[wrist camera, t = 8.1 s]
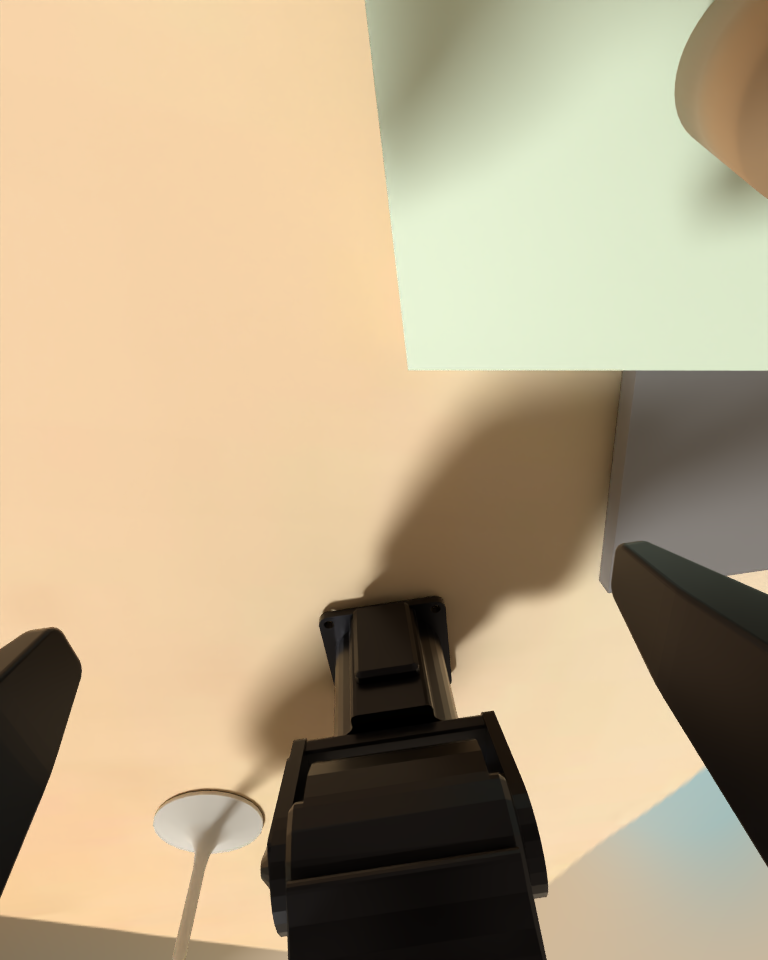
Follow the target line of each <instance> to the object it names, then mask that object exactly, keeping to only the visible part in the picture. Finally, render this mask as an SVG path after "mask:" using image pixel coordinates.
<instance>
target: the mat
mask: <svg viewBox="0 0 768 960" xmlns="http://www.w3.org/2000/svg"><path fill="white" fill-rule="evenodd" d="M635 541H647V542H650V543H652V544H654V545H656V546H659V547H661V548H663V549H666V550H668V551H670V552H672V553H675V554H677V555H679V556H681V557H684V558H686V559H688V560H691V561H693V562H695V563H697V564H700V565H702V566H704V567H706V568H709V569H711V570H713V571H716V572H718V573H720V574H722V575H725V576H728V575H735V574H742V573H749V572H755V571H762V570H768V371H730V370H623V371H622V380H621V389H620V398H619V407H618V416H617V425H616V434H615V442H614V451H613V460H612V469H611V478H610V487H609V496H608V505H607V514H606V522H605V531H604V540H603V549H602V558H601V567H600V576H599V581H600V582H601V584H602V585H603V587H604V588H605V589H606V591H607V592H608V593H612V589H611V579H612V572H613V564H614V556H615V551H616V548H617V546H618V545H620V544H622V543H628V542H635Z"/></svg>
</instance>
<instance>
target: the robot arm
mask: <svg viewBox="0 0 768 960" xmlns="http://www.w3.org/2000/svg"><path fill="white" fill-rule="evenodd" d="M611 589H612V594H613V597H614V599H615V601H616V604H617V606H618V608H619V610H620V612H621V614H622V616H623V618H624V620H625V622H626V624H627V627H628V629H629V631H630V633H631V635H632V637H633V639H634V641H635V643H636V645H637V647H638V649H639V652H640V654H641V656H642V658H643V660H644V662H645V664H646V666H647V668H648V670H649V672H650V674H651V676H652V678H653V680H654V682H655V684H656V686H657V687H658V689H659V691H660V692H661V694H662V696H663V698H664V699H665V701H666V703H667V704H668V706H669V707H670V709H671V711H672V712H673V714H674V716H675V717H676V719H677V720H678V722H679V724H680V725H681V727H682V729H683V730H684V732H685V733H686V735H687V737H688V738H689V740H690V742H691V743H692V745H693V746H694V748H695V750H696V751H697V753H698V755H699V756H700V758H701V759H702V761H703V763H704V764H705V766H706V768H707V769H708V771H709V772H710V774H711V776H712V777H713V779H714V781H715V782H716V784H717V785H718V787H719V789H720V790H721V792H722V793H723V795H724V797H725V798H726V800H727V802H728V803H729V805H730V807H731V808H732V810H733V811H734V813H735V814H736V816H737V818H738V820H739V821H740V823H741V825H742V826H743V828H744V829H745V831H746V833H747V834H748V836H749V837H750V839H751V841H752V842H753V844H754V846H755V847H756V849H757V850H758V852H759V854H760V855H761V857H762V859H763V860H764V862H765V863H766V865H767V867H768V594H766V593H763V592H761V591H759V590H757V589H754V588H752V587H750V586H747V585H745V584H743V583H741V582H738V581H736V580H734V579H731V578H729V577H727V576H725V575H722V574H720V573H718V572H716V571H713V570H711V569H709V568H706V567H704V566H702V565H700V564H697V563H695V562H693V561H691V560H688V559H686V558H684V557H681V556H679V555H677V554H675V553H672V552H670V551H668V550H666V549H663V548H661V547H659V546H656V545H654V544H652V543H650V542H647V541H635V542H628V543H622V544H620V545H618V546H617V548H616V551H615V556H614V564H613V572H612V579H611ZM435 605H438V606H437V607H433V606H435ZM327 621H331V623H327ZM319 627H320V631H321V635H322V639H323V643H324V647H325V650H326V654H327V658H328V662H329V666H330V670H331V674H332V678H333V682H334V686H335V707H334V737H328V738H321V739H315V740H308V741H307V738H306V739H299V740H294V741H293V745H292V749H291V754H290V758H288V759H287V762H286V766H285V770H284V775H283V779H282V783H281V787H280V791H279V795H278V800H277V804H276V808H275V812H274V816H273V821H272V825H271V829H270V833H269V837H268V842H267V848H266V851H265V853H264V855H263V858H262V861H261V878H262V880H263V881H264V882H265V884H266V885H267V886H268V887H269V889H270V895H271V906H272V914H273V919H274V924H275V927H276V930H277V933H278V934H279V935H280V936H281V937H284V936H287V937H288V960H547V959H546V955H545V950H544V945H543V940H542V935H541V930H540V926H539V921H538V916H537V912H536V907H535V902H534V899H535V898H541V897H547V894H548V880H547V871H546V865H545V859H544V854H543V849H542V844H541V840H540V835H539V831H538V827H537V823H536V820H535V816H534V813H533V809H532V806H531V803H530V799H529V796H528V793H527V791H526V788H525V785H524V783H523V780H522V778H521V775H520V773H519V770H518V768H517V766H516V763H515V761H514V758H513V756H512V754H511V751H510V749H509V746H508V744H507V742H506V739H505V737H504V734H503V732H502V730H501V727H500V725H499V722H498V720H497V718H496V715H495V713H494V711H488V712H482V713H481V715H477V716H470V717H463V718H458V716H457V712H456V708H455V704H454V699H453V695H452V691H451V686H450V684H451V681H452V679H451V667H450V655H449V644H448V632H447V620H446V608H445V604H444V601H443V599H442V598H441V597H438V596H433V597H426V598H419V599H412V600H406V601H399V602H392V603H385V604H378V605H372V606H365V607H358V608H351V609H345V610H338V611H331V612H326V613H323V614H322V615H321V616H320V621H319ZM81 673H82V669H81V663H80V660H79V659H78V657H77V655H76V654H75V652H74V650H73V649H72V647H71V645H70V644H69V642H68V640H67V639H66V637H65V635H64V634H63V632H62V631H61V630H59V629H58V628H54V627H49V628H42V629H35V630H30V631H27V632H25V633H23V634H22V635H20V636H19V637H17V638H16V639H14V640H13V641H11V642H10V643H8V644H7V645H6V646H4V647H3V648H1V649H0V898H1V895H2V893H3V890H4V888H5V885H6V883H7V881H8V878H9V876H10V873H11V871H12V868H13V866H14V864H15V861H16V859H17V856H18V854H19V851H20V849H21V847H22V844H23V842H24V839H25V837H26V834H27V832H28V830H29V827H30V825H31V822H32V820H33V817H34V815H35V813H36V810H37V808H38V805H39V803H40V800H41V798H42V796H43V793H44V791H45V788H46V785H47V783H48V780H49V778H50V775H51V772H52V769H53V766H54V763H55V760H56V757H57V754H58V751H59V747H60V744H61V741H62V738H63V734H64V731H65V728H66V725H67V721H68V718H69V715H70V712H71V708H72V705H73V702H74V699H75V695H76V692H77V689H78V686H79V682H80V679H81Z"/></svg>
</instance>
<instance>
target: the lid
mask: <svg viewBox="0 0 768 960" xmlns="http://www.w3.org/2000/svg"><path fill="white" fill-rule="evenodd" d="M365 7H366V15H367V24H368V32H369V41H370V49H371V58H372V66H373V75H374V83H375V92H376V100H377V109H378V117H379V126H380V134H381V143H382V151H383V160H384V168H385V177H386V185H387V194H388V202H389V211H390V219H391V228H392V236H393V245H394V253H395V262H396V270H397V279H398V287H399V296H400V304H401V313H402V321H403V330H404V338H405V347H406V355H407V364H408V370H730V371H768V0H365Z"/></svg>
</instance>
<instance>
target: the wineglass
mask: <svg viewBox="0 0 768 960" xmlns="http://www.w3.org/2000/svg"><path fill="white" fill-rule="evenodd" d="M153 826H154V829H155V832H156V833H157V835H158V836H159V837H160V838H161V839H162V840H163V841H165V842H166V843H168V844H169V845H172V846H174V847H176V848H178V849H182V850H186V851H189V852H194V853H195V858H194V866H193V872H192V876H191V880H190V884H189V889H188V893H187V897H186V902H185V906H184V910H183V914H182V919H181V923H180V927H179V931H178V936H177V940H176V944H175V948H174V953H173V957H172V960H185V959H186V953H187V949H188V945H189V940H190V936H191V931H192V926H193V922H194V917H195V912H196V908H197V903H198V899H199V894H200V889H201V885H202V880H203V876H204V871H205V867H206V864H207V861H208V858H209V856H210V854H211V853H222V852H229V851H232V850H236V849H239V848H242V847H244V846H246V845H248V844H250V843H251V842H252V841H254V840H255V839H256V838H257V837H258V836H259V834H260V833H261V830H262V827H263V816H262V813H261V812H260V810H259V809H258V807H256V806H255V805H254V804H253V803H252V802H250V801H248V800H246V799H245V798H243V797H240V796H237V795H234V794H231V793H226V792H219V791H197V792H189V793H185V794H182V795H178V796H176V797H174V798H172V799H170V800H168V801H166V802H165V803H164V804H163V805H161V806H160V807H159V809H158V810H157V812H156V814H155V816H154V822H153Z"/></svg>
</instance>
